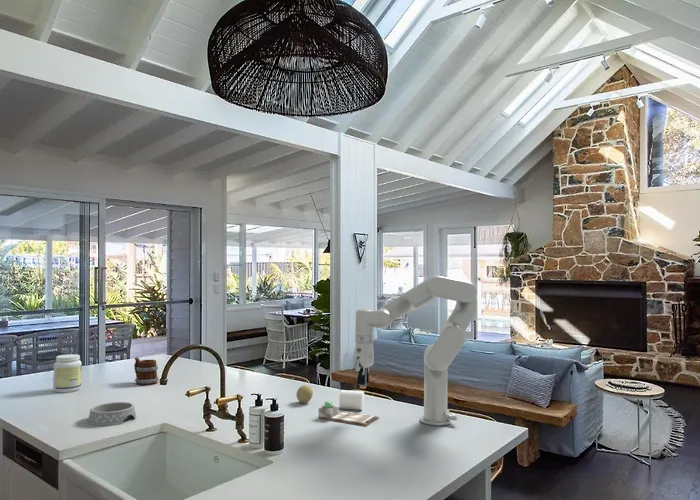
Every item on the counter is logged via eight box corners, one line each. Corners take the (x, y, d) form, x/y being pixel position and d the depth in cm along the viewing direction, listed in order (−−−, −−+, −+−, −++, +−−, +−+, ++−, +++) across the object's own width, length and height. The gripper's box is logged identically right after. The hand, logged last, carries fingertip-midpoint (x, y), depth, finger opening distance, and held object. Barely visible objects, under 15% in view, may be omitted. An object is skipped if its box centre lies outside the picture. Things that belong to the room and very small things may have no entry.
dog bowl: (77, 423, 207) (77, 410, 208) (113, 411, 225) (113, 399, 225) (111, 429, 201) (111, 414, 202) (145, 416, 219) (145, 403, 219)
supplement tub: (86, 389, 262) (87, 355, 262) (61, 394, 252) (62, 359, 252) (72, 386, 268) (73, 353, 269) (47, 390, 258) (48, 356, 259)
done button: (333, 409, 220) (333, 402, 220) (329, 411, 217) (329, 403, 218) (326, 408, 222) (326, 401, 222) (323, 410, 219) (323, 402, 219)
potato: (313, 401, 246) (314, 383, 246) (310, 405, 238) (311, 387, 238) (297, 400, 247) (298, 383, 247) (294, 404, 239) (294, 387, 239)
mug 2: (361, 412, 229) (361, 393, 229) (339, 410, 231) (339, 392, 231) (366, 405, 240) (366, 387, 241) (344, 403, 242) (345, 386, 243)
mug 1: (147, 386, 269) (144, 357, 270) (127, 388, 275) (125, 359, 277) (164, 382, 279) (161, 353, 281) (145, 383, 285) (143, 356, 287)
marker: (367, 387, 219) (368, 362, 220) (364, 389, 217) (365, 363, 217) (361, 386, 221) (361, 361, 221) (358, 388, 218) (358, 362, 218)
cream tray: (378, 418, 219) (378, 408, 219) (366, 426, 208) (366, 415, 208) (332, 411, 229) (332, 401, 229) (318, 418, 218) (318, 407, 218)
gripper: (363, 342, 210) (362, 388, 210) (380, 337, 225) (379, 381, 224) (347, 340, 214) (346, 386, 213) (364, 336, 228) (363, 378, 228)
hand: (363, 383), depth 219 cm, fingers closed on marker, 2 cm apart
